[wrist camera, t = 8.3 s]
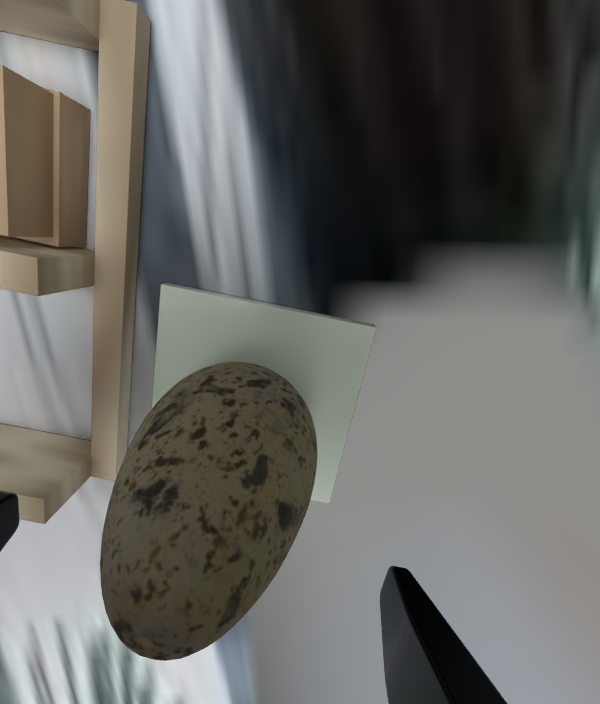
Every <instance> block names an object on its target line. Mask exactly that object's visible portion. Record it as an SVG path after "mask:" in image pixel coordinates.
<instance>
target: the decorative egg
mask: <svg viewBox="0 0 600 704" xmlns="http://www.w3.org/2000/svg"><path fill="white" fill-rule="evenodd" d="M316 469H317V439H316V432H315V427H314V423H313V420H312V417H311V414H310V412H309V409H308V407H307V405H306V403H305V402H304V400H303V398H302V397H301V395H300V394H299V393H298V391H297V390H296V389H295V388H294V387H293V386H292V385H291V384H290V383H289V382H288V381H287V380H286V379H285V378H283V377H282V376H280V375H279V374H278V373H276V372H274V371H272V370H270V369H268V368H266V367H263V366H260V365H257V364H252V363H247V362H226V363H219V364H215V365H211V366H208V367H205V368H202V369H200V370H198V371H195V372H194V373H192V374H190V375H188V376H187V377H185V378H183V379H182V380H181V381H179V382H178V383H177V384H175V385H174V386H173V387H172V388H171V389H170V390H169V391H167V392H166V393H165V394H164V395H163V396H162V397H161V399H160V400H159V401H158V402H157V403H156V404H155V406H154V407H153V408H152V410H151V411H150V412H149V414H148V415H147V416H146V418H145V419H144V421H143V423H142V424H141V426H140V427H139V429H138V431H137V432H136V434H135V436H134V438H133V440H132V442H131V444H130V446H129V448H128V451H127V453H126V455H125V458H124V460H123V462H122V465H121V467H120V470H119V473H118V475H117V478H116V481H115V484H114V487H113V491H112V495H111V498H110V502H109V506H108V510H107V514H106V519H105V524H104V529H103V535H102V545H101V560H100V570H101V587H102V596H103V600H104V605H105V609H106V613H107V615H108V618H109V621H110V623H111V626H112V627H113V629H114V631H115V632H116V634H117V636H118V637H119V639H120V640H121V641H122V642H123V643H124V645H126V646H127V647H128V648H129V649H131V650H132V651H133V652H135V653H137V654H138V655H140V656H143V657H147V658H150V659H155V660H165V661H166V660H173V659H180V658H183V657H186V656H189V655H191V654H193V653H196V652H198V651H200V650H202V649H204V648H206V647H207V646H209V645H210V644H212V643H213V642H215V641H216V640H218V639H219V638H221V637H222V636H223V635H224V634H225V633H227V632H228V631H229V630H230V629H231V628H232V627H233V626H234V625H235V624H236V623H237V622H238V621H239V620H240V619H241V618H242V617H243V616H244V615H245V614H246V613H247V612H248V611H249V609H250V608H251V607H252V606H253V605H254V604H255V602H256V601H257V600H258V599H259V598H260V596H261V595H262V594H263V592H264V591H265V590H266V588H267V587H268V585H269V584H270V583H271V581H272V580H273V578H274V577H275V575H276V573H277V572H278V570H279V568H280V567H281V565H282V563H283V561H284V559H285V558H286V556H287V554H288V552H289V550H290V548H291V546H292V544H293V542H294V540H295V538H296V536H297V533H298V531H299V529H300V527H301V524H302V522H303V519H304V517H305V514H306V511H307V508H308V505H309V502H310V499H311V495H312V491H313V487H314V482H315V476H316Z"/></svg>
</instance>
